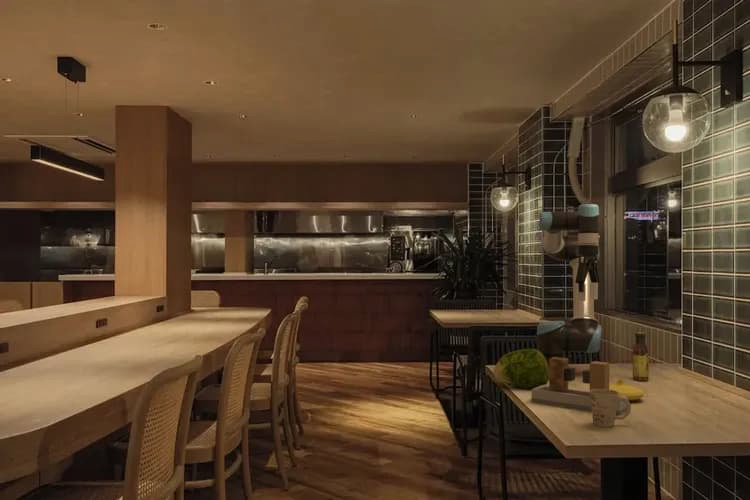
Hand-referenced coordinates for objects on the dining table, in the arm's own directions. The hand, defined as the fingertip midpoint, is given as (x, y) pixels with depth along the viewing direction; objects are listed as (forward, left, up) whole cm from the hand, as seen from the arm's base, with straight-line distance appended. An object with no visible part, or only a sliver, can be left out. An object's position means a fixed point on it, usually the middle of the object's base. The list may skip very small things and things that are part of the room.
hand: (587, 300), depth 244 cm
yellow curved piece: (+14, -6, -35) cm, 38 cm away
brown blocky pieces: (+6, -27, -35) cm, 44 cm away
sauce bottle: (+10, +37, -35) cm, 52 cm away
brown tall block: (0, -27, -33) cm, 43 cm away
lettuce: (-23, -9, -35) cm, 43 cm away
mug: (+22, -45, -35) cm, 61 cm away
